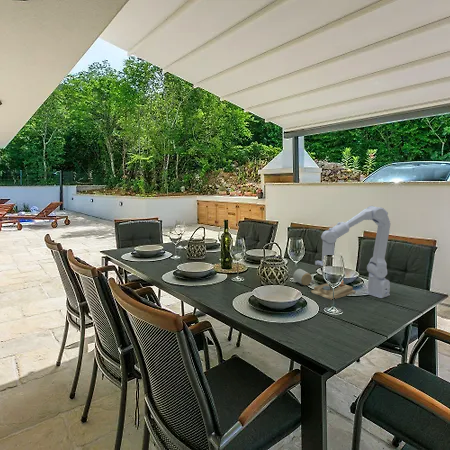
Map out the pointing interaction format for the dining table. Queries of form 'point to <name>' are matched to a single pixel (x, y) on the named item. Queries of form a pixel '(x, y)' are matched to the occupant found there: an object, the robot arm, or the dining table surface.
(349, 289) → the light wood flat board
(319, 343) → the dining table surface
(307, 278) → the grey canister
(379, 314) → the dining table surface
